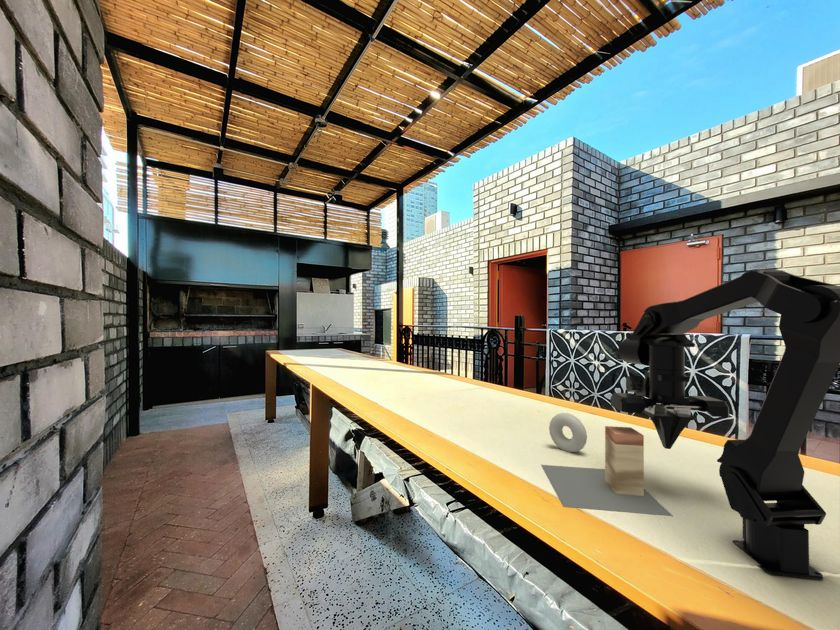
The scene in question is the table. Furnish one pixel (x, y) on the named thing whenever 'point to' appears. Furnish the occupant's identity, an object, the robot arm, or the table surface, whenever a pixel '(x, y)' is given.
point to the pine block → (624, 460)
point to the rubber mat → (597, 492)
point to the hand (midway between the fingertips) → (666, 448)
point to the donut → (576, 427)
